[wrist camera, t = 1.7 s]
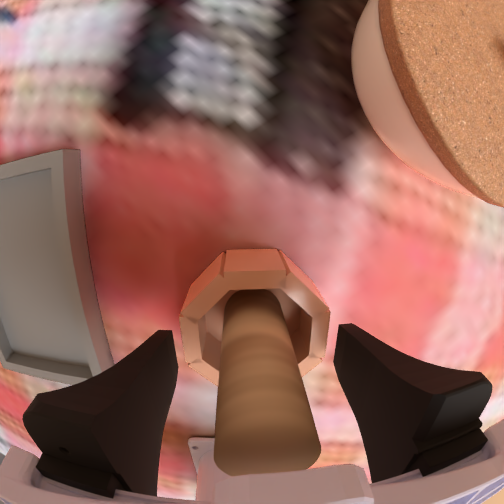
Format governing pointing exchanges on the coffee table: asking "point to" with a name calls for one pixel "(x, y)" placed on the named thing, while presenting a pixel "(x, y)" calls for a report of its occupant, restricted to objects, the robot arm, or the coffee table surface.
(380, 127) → the lidded jar
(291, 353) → the dowel
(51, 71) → the coffee table surface
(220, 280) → the cup
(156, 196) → the coffee table surface
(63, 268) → the tray
